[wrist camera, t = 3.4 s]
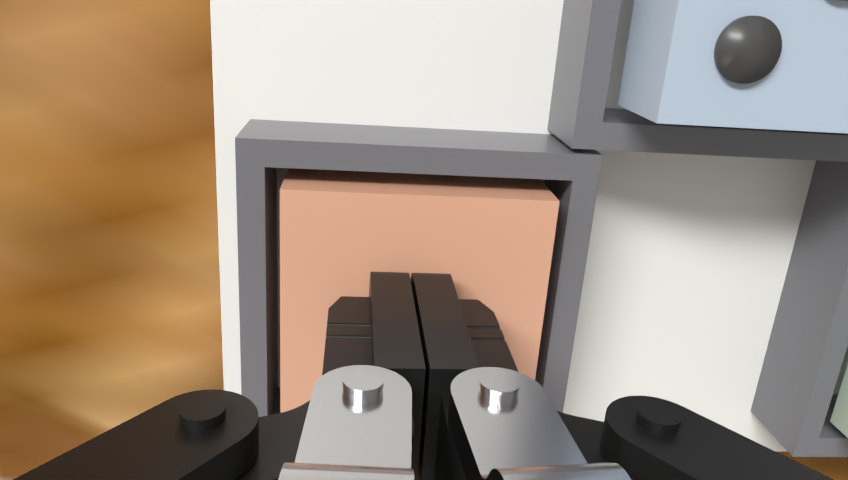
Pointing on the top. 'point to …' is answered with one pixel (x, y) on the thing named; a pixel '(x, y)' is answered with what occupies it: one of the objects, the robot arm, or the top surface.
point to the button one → (409, 253)
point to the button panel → (570, 183)
